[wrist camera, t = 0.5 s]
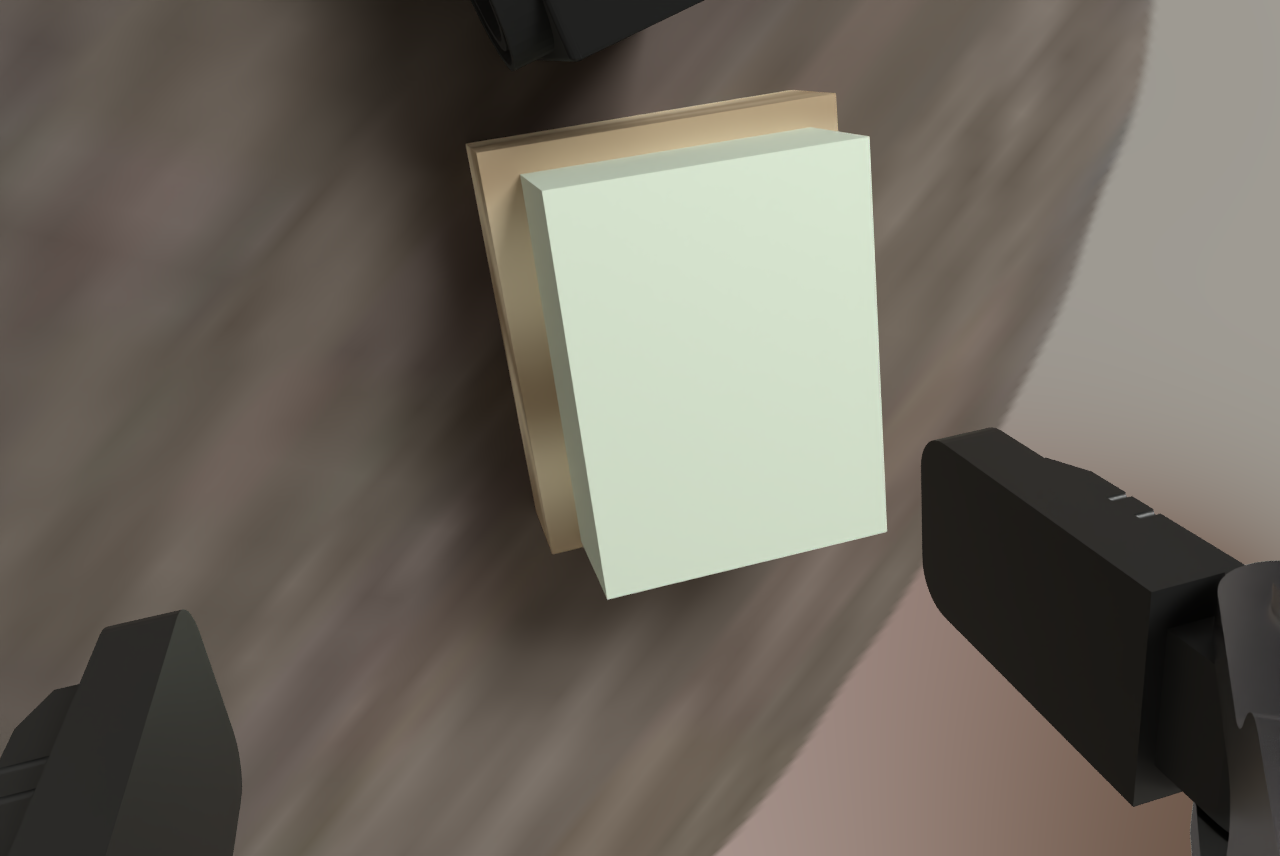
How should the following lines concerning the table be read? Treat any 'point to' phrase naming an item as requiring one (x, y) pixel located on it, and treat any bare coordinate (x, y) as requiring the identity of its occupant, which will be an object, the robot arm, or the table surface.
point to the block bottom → (515, 265)
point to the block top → (714, 351)
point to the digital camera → (566, 25)
